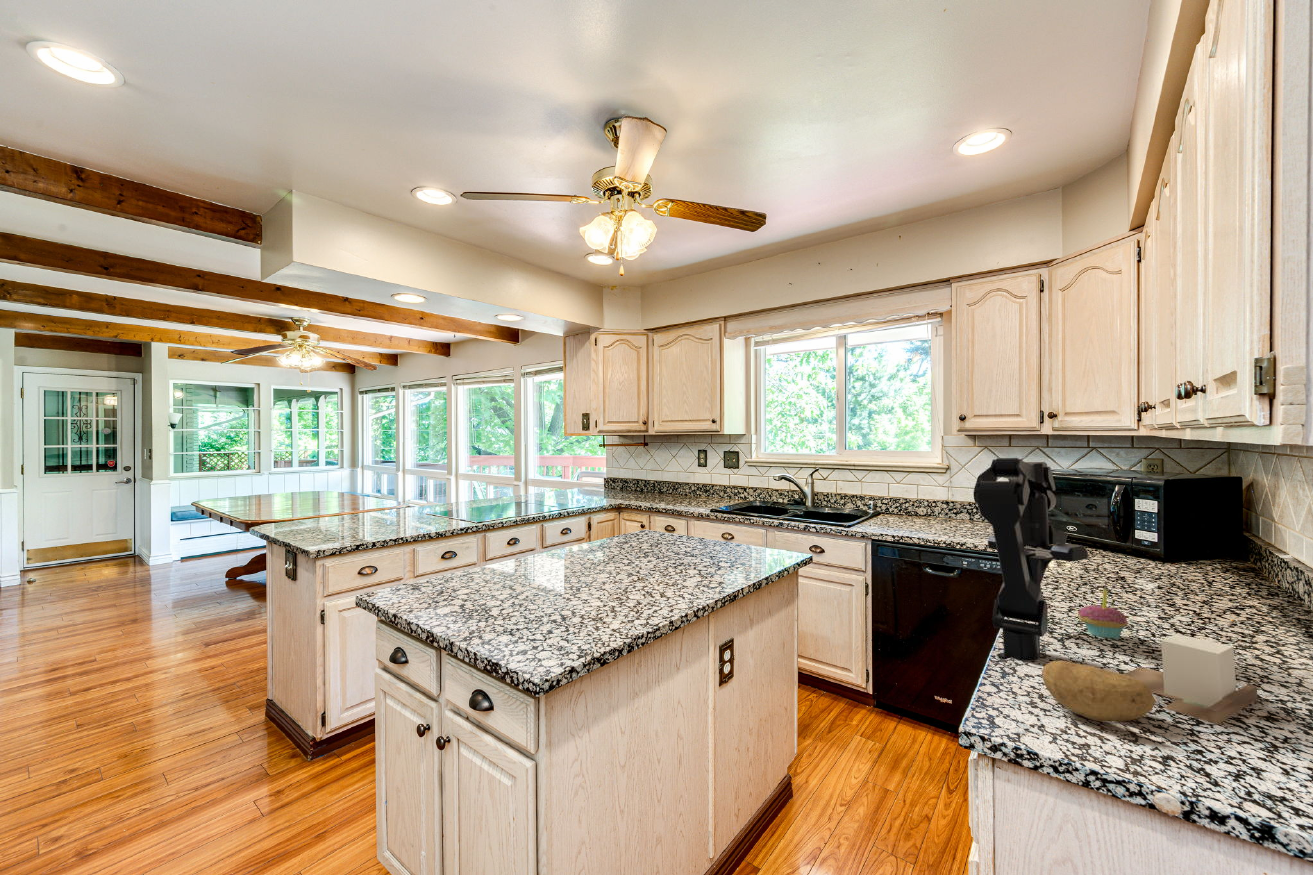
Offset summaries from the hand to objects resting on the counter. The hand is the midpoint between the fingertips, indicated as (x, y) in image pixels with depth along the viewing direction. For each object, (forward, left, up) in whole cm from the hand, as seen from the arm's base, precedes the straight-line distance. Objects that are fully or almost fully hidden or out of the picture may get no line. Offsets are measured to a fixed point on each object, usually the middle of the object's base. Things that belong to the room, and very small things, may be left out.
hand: (1036, 585), depth 119 cm
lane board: (-9, -28, -12) cm, 31 cm away
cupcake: (+12, -6, -12) cm, 18 cm away
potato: (-27, -26, -12) cm, 39 cm away
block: (-7, -30, -11) cm, 33 cm away
